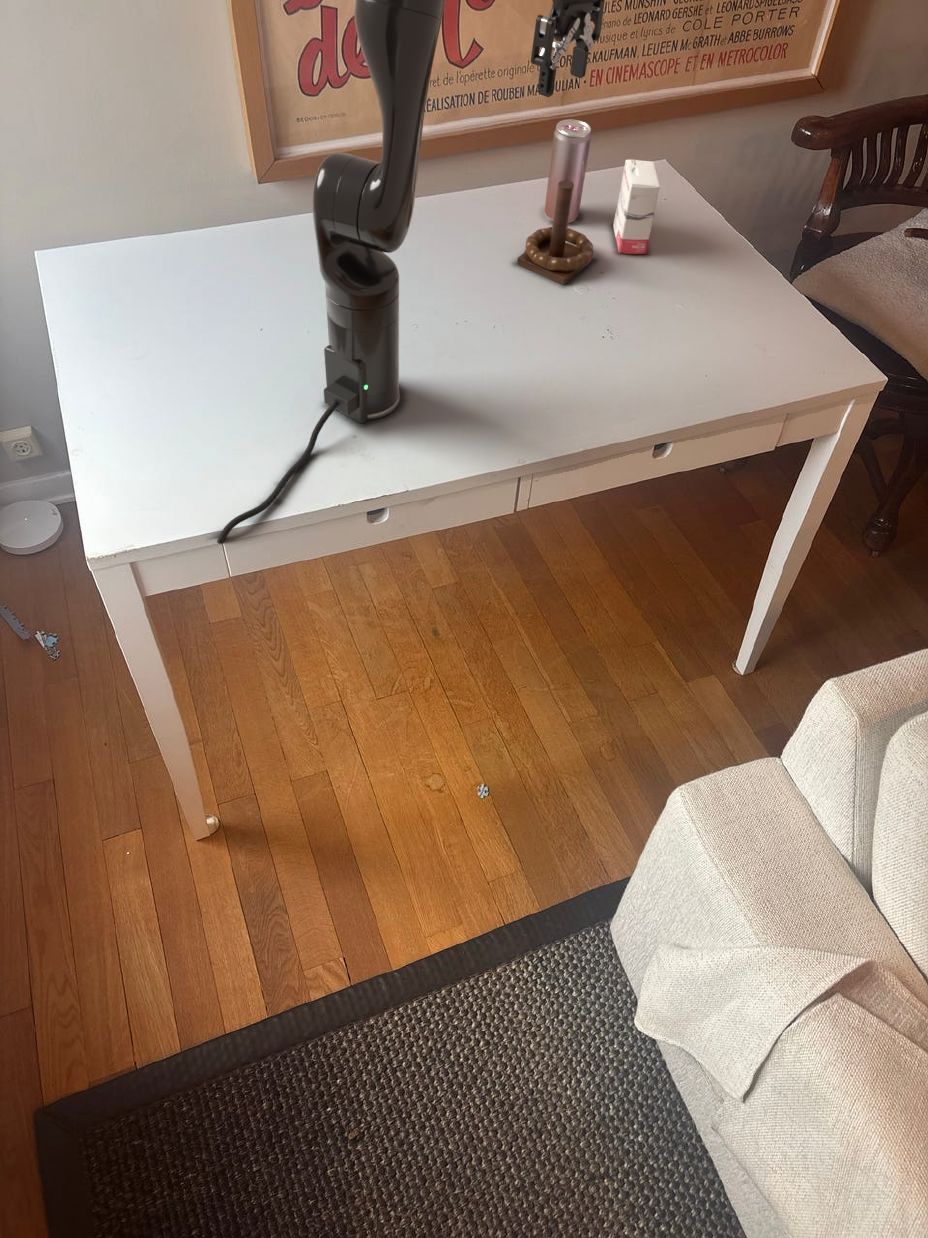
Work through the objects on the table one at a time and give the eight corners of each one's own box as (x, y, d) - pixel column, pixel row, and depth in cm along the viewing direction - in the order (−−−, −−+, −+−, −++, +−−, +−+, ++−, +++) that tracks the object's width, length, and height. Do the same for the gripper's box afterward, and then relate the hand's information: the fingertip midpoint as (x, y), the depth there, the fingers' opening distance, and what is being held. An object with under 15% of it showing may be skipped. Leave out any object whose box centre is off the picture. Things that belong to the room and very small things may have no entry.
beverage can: (549, 203, 169) (561, 115, 157) (582, 210, 168) (596, 123, 156) (539, 219, 165) (550, 131, 153) (573, 227, 164) (586, 139, 152)
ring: (569, 281, 152) (571, 270, 150) (511, 256, 156) (513, 244, 154) (604, 252, 158) (606, 241, 156) (548, 228, 161) (550, 217, 160)
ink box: (646, 255, 160) (661, 186, 151) (617, 253, 160) (630, 184, 151) (640, 227, 165) (654, 158, 156) (612, 225, 165) (624, 157, 156)
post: (563, 284, 153) (575, 206, 143) (516, 264, 156) (525, 185, 146) (592, 260, 158) (606, 183, 148) (546, 240, 161) (557, 163, 151)
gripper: (583, -66, 131) (566, 62, 143) (524, -40, 123) (511, 92, 136) (630, -51, 128) (609, 78, 141) (573, -24, 121) (555, 109, 133)
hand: (561, 85), depth 138 cm, fingers open, 8 cm apart
